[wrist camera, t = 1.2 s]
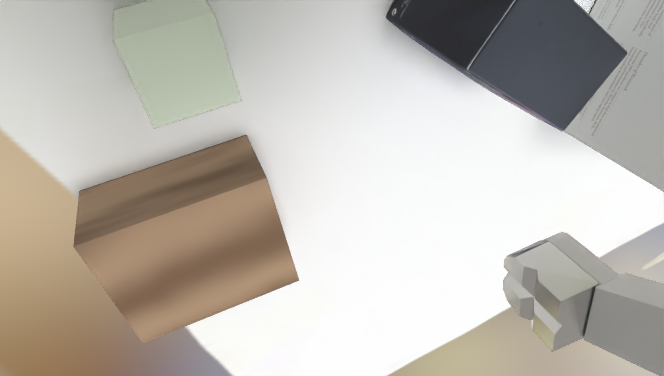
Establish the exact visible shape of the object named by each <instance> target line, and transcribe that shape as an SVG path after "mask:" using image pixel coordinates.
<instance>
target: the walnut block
mask: <svg viewBox="0 0 664 376" xmlns="http://www.w3.org/2000/svg"><path fill="white" fill-rule="evenodd" d="M74 248H75V249H76V251H77V252H78V253H79V255H80V256H81V258H82V259H83V260H84V262H85V263H86V264H87V266H88V267H89V269H90V270H91V271H92V273H93V274H94V276H95V277H96V278H97V280H98V281H99V282H100V284H101V285H102V287H103V288H104V290H105V291H106V292H107V294H108V295H109V296H110V298H111V299H112V301H113V302H114V303H115V305H116V306H117V308H118V309H119V310H120V312H121V313H122V315H123V316H124V317H125V319H126V320H127V321H128V323H129V324H130V326H131V327H132V328H133V329H134V331H135V332H136V334H137V335H138V337H139V338H140V340H141V341H142V342H143V343H145V342H148V341H150V340H153V339H155V338H157V337H160V336H162V335H165V334H167V333H170V332H172V331H175V330H177V329H180V328H182V327H185V326H187V325H190V324H192V323H195V322H197V321H200V320H202V319H205V318H207V317H210V316H212V315H215V314H217V313H220V312H222V311H224V310H227V309H229V308H232V307H234V306H237V305H239V304H242V303H244V302H247V301H249V300H252V299H254V298H257V297H259V296H262V295H264V294H267V293H269V292H272V291H274V290H277V289H279V288H282V287H284V286H287V285H289V284H291V283H294V282H296V281H299V278H298V275H297V272H296V269H295V266H294V262H293V259H292V256H291V253H290V250H289V247H288V244H287V241H286V237H285V234H284V231H283V228H282V225H281V222H280V219H279V215H278V212H277V209H276V206H275V203H274V200H273V197H272V193H271V190H270V187H269V184H268V181H267V178H266V176H265V173H264V171H263V169H262V167H261V165H260V163H259V161H258V158H257V156H256V154H255V152H254V150H253V148H252V146H251V144H250V141H249V139H248V137H247V135H245V136H242V137H239V138H236V139H234V140H231V141H228V142H225V143H222V144H219V145H216V146H213V147H210V148H207V149H204V150H201V151H198V152H195V153H192V154H189V155H186V156H183V157H180V158H177V159H174V160H171V161H168V162H165V163H162V164H159V165H156V166H153V167H150V168H147V169H144V170H141V171H138V172H135V173H132V174H129V175H127V176H124V177H121V178H118V179H115V180H112V181H109V182H106V183H103V184H100V185H97V186H94V187H91V188H88V189H85V190H82V191H80V192H79V202H78V212H77V220H76V229H75V238H74Z"/></svg>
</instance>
